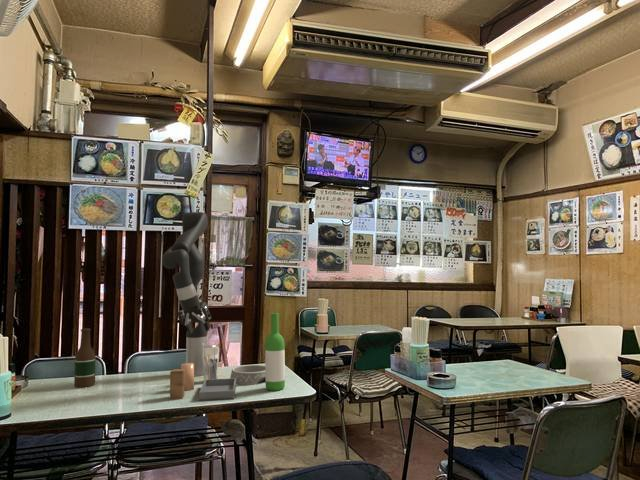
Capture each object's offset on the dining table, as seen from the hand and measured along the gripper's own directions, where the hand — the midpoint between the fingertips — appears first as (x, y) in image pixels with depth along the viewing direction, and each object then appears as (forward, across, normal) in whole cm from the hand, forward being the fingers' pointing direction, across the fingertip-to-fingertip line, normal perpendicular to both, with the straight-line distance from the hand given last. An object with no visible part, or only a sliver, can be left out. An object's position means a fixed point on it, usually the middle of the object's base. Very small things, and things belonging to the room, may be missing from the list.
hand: (199, 331), depth 196 cm
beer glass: (+23, +2, +1) cm, 23 cm away
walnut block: (+15, -1, +26) cm, 30 cm away
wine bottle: (+27, -30, +5) cm, 41 cm away
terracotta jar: (+18, +3, +15) cm, 24 cm away
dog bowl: (+28, -13, -5) cm, 31 cm away
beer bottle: (+9, +47, +22) cm, 53 cm away
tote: (+20, -12, +16) cm, 29 cm away
